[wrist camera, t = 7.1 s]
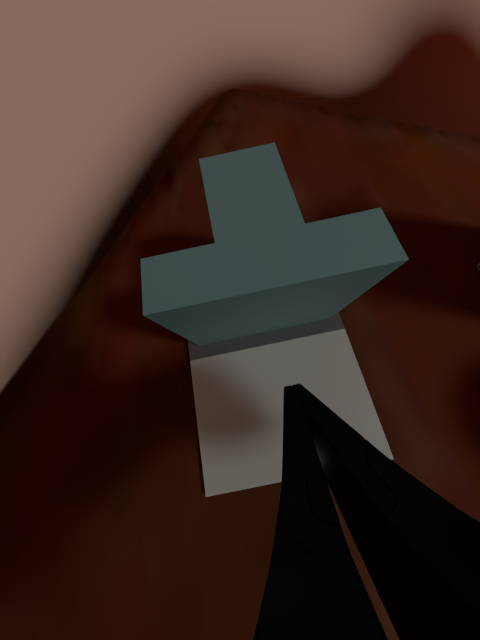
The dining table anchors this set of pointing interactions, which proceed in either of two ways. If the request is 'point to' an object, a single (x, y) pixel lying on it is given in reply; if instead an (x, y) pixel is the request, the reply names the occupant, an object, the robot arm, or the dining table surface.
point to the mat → (271, 398)
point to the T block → (264, 257)
